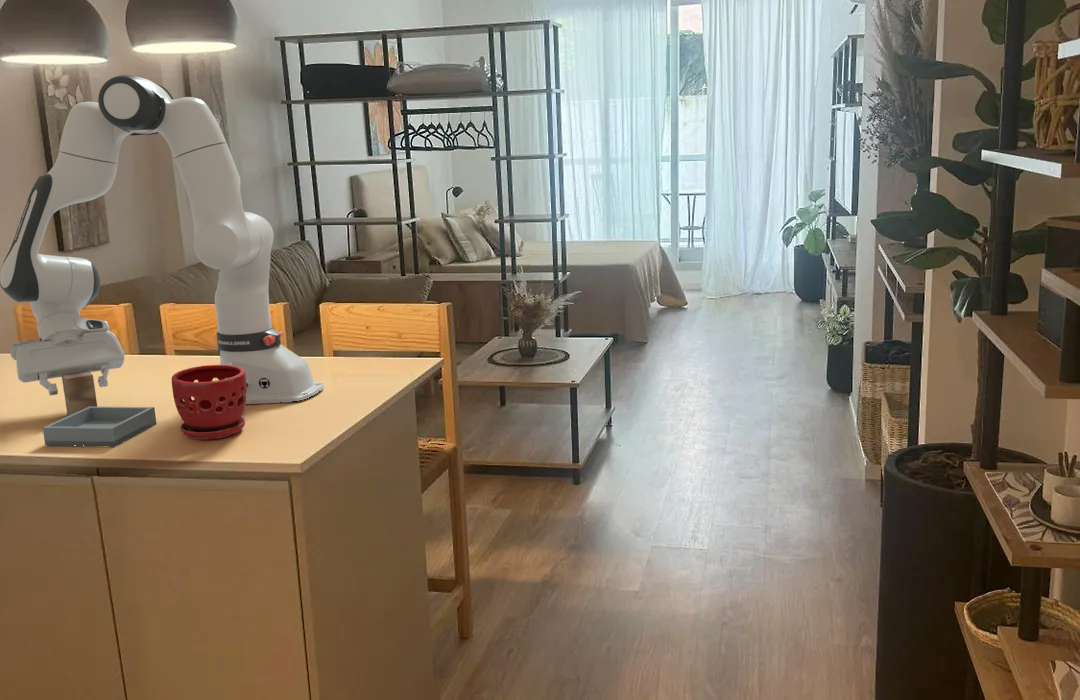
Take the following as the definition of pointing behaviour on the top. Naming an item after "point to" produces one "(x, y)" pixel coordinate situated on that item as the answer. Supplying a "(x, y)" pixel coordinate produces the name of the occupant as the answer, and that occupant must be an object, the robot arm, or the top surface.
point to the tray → (99, 426)
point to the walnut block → (79, 391)
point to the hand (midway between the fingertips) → (79, 389)
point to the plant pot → (210, 400)
